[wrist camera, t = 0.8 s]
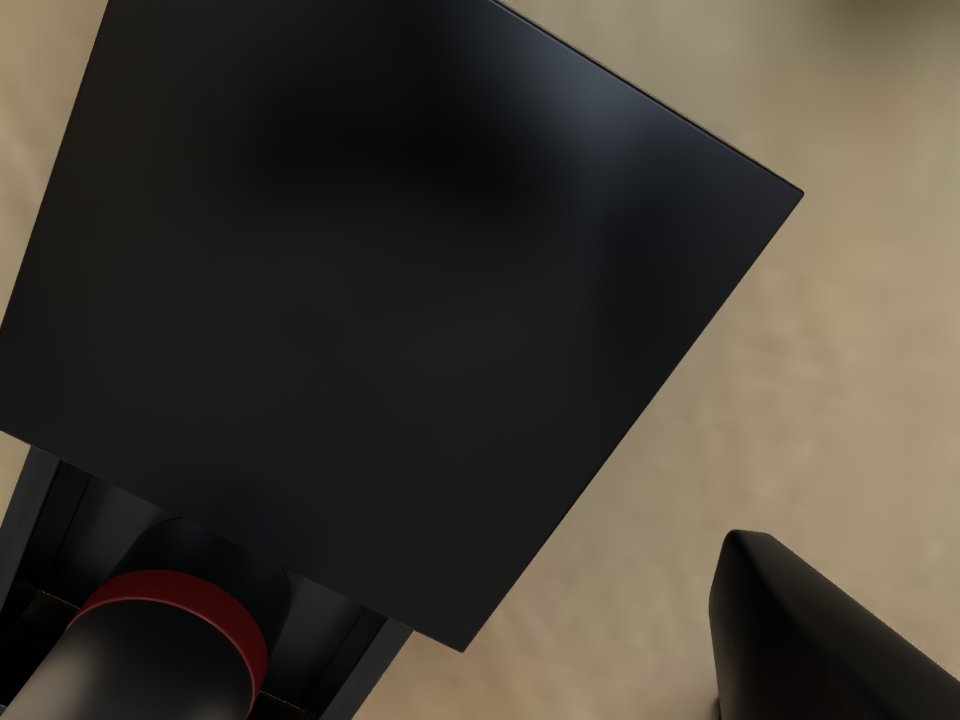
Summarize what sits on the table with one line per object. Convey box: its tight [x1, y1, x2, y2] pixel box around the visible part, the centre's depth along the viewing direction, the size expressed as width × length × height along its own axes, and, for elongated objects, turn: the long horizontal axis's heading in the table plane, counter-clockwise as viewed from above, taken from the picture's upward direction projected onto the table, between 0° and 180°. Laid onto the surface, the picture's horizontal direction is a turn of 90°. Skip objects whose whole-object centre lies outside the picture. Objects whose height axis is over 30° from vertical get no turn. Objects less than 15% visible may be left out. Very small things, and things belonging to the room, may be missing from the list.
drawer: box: [0, 445, 414, 720], centre depth 24 cm, size 16×12×4 cm
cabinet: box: [0, 0, 804, 653], centre depth 19 cm, size 13×13×6 cm
